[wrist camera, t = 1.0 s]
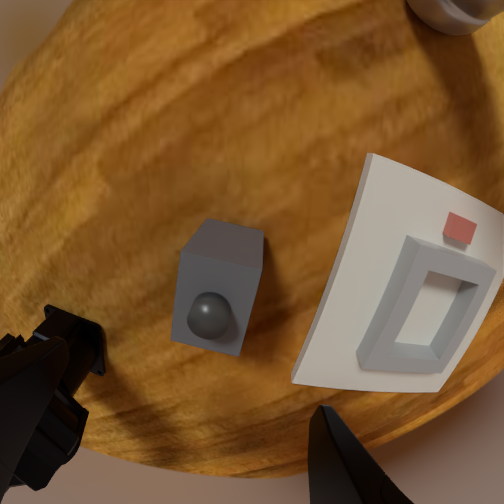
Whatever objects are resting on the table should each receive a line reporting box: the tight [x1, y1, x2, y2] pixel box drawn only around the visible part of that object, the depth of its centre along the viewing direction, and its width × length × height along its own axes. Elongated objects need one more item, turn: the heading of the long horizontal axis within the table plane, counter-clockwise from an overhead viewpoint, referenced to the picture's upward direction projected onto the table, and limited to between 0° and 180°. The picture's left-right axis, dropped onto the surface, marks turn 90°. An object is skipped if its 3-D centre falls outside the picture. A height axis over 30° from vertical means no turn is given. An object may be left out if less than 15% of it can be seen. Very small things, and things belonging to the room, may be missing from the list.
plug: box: [171, 218, 264, 356], centre depth 16 cm, size 5×4×8 cm
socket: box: [291, 153, 504, 392], centre depth 18 cm, size 18×16×3 cm
